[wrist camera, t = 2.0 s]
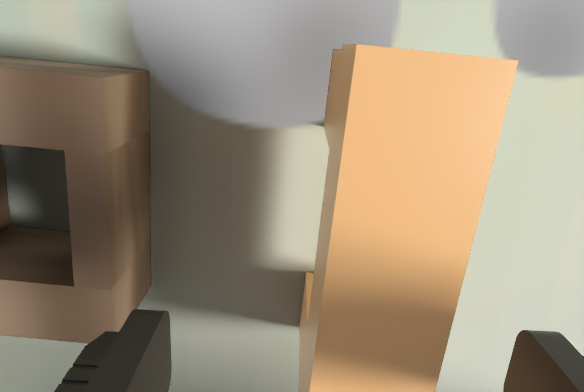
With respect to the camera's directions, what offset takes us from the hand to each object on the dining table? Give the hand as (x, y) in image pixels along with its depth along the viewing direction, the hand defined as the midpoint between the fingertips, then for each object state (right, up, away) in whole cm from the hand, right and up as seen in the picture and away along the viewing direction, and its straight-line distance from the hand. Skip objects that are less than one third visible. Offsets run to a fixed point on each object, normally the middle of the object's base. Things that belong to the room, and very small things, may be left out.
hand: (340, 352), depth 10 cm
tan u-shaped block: (+1, +3, +8) cm, 8 cm away
